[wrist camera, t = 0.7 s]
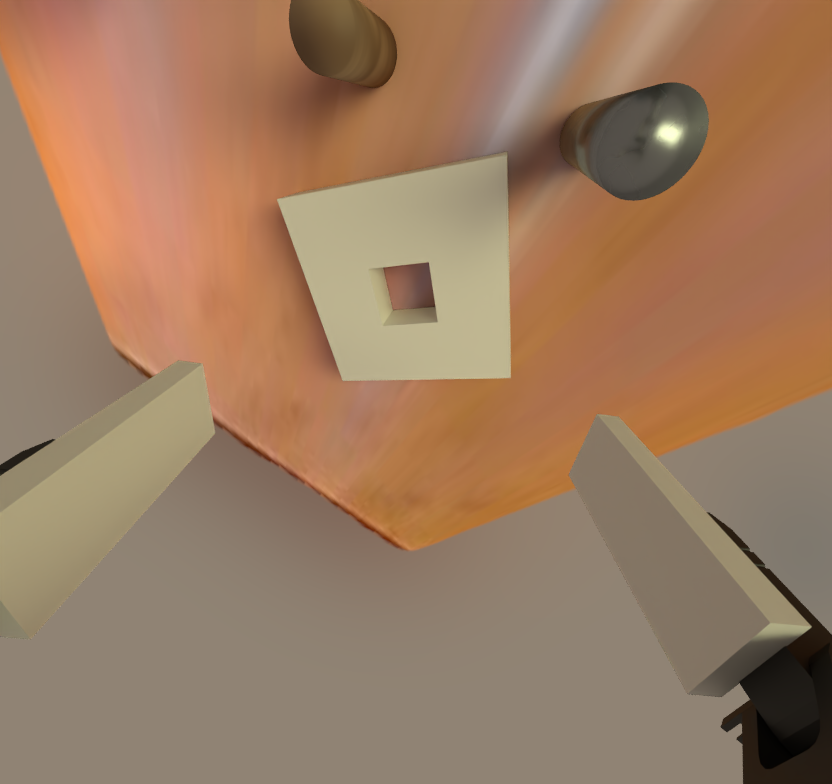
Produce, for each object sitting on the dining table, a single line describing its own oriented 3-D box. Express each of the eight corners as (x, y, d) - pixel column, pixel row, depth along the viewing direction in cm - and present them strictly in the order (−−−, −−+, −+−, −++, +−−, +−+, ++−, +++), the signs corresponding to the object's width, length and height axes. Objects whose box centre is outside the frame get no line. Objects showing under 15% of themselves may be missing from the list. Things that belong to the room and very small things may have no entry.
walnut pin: (341, 24, 26) (278, -12, 19) (390, 7, 25) (343, -38, 18) (355, 93, 28) (304, 83, 21) (401, 80, 27) (362, 66, 20)
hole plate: (298, 192, 34) (276, 199, 31) (507, 151, 28) (506, 154, 25) (354, 363, 45) (342, 380, 42) (510, 358, 40) (510, 378, 37)
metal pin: (561, 109, 26) (603, 96, 14) (620, 96, 25) (723, 70, 13) (557, 170, 28) (591, 207, 16) (612, 161, 27) (691, 192, 15)
